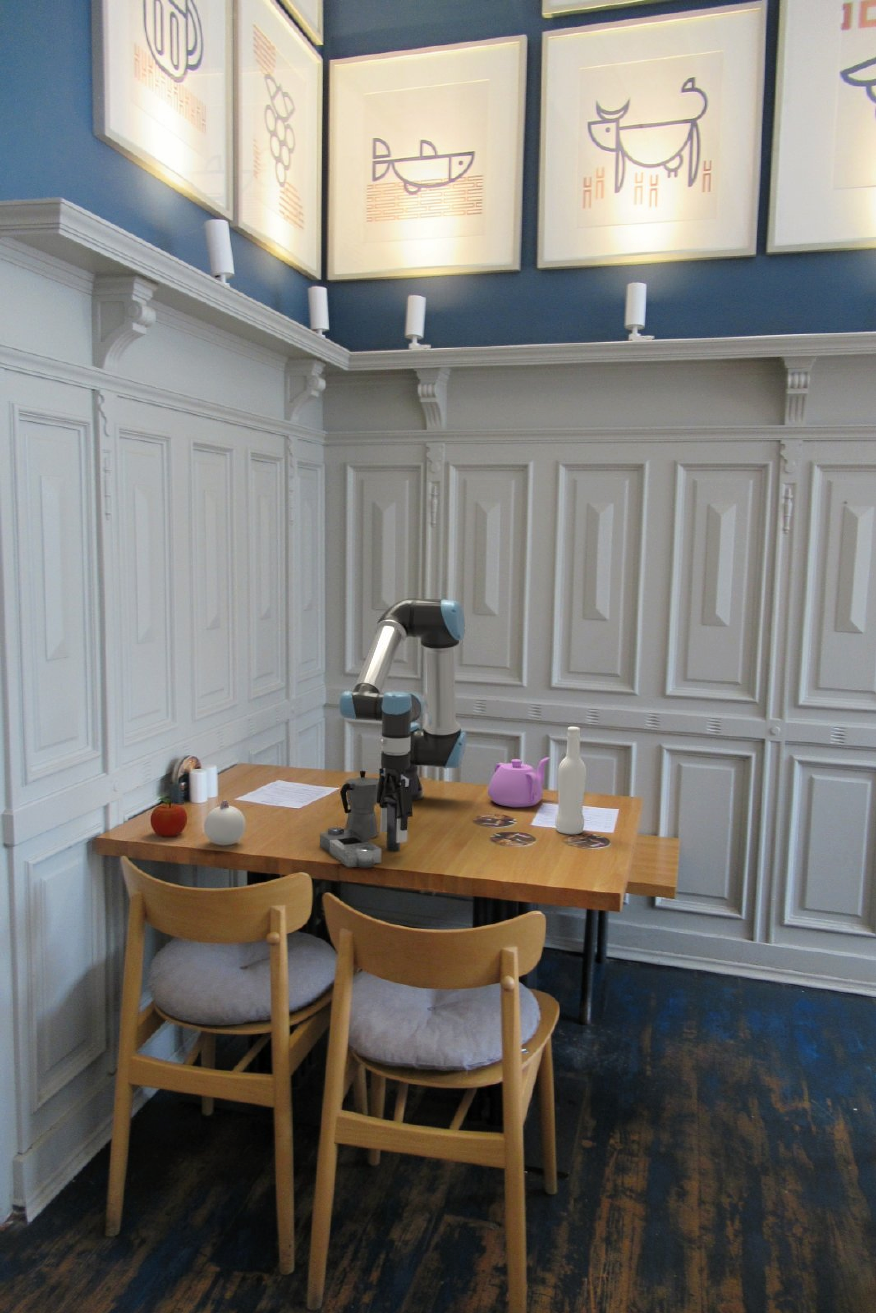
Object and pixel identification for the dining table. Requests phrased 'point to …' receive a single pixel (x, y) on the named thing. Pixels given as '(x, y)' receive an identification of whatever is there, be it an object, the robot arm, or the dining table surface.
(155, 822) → the fruit
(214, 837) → the ornament
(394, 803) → the pin
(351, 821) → the coffeepot
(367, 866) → the grey slotted block
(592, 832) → the dining table surface
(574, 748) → the bottle
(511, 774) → the teapot
